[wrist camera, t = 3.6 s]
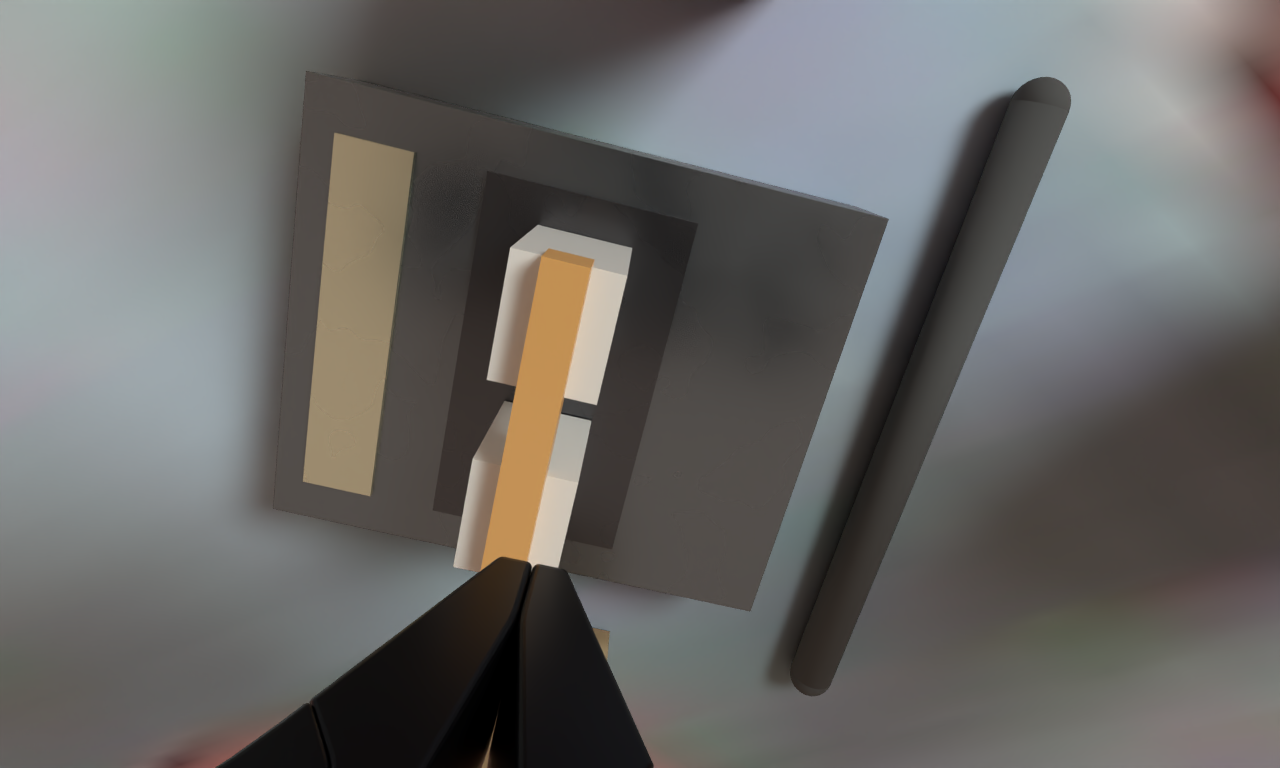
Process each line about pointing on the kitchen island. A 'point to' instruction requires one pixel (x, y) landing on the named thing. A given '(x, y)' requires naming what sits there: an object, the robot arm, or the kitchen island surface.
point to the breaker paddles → (541, 395)
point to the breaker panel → (639, 354)
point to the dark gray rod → (933, 371)
